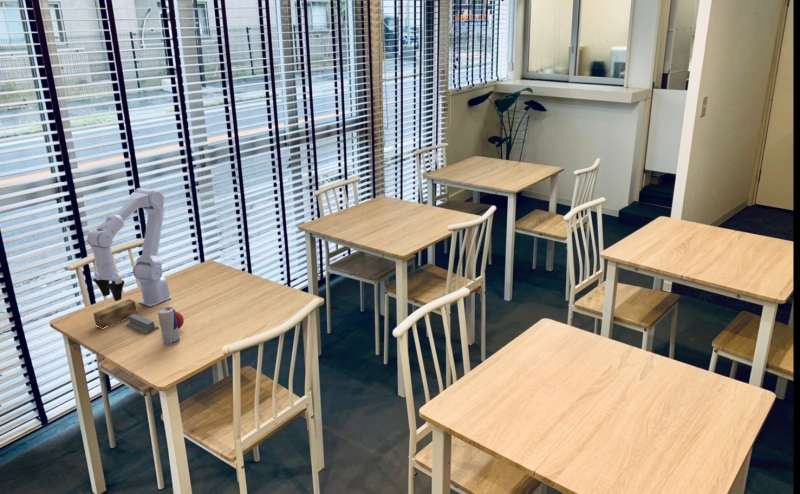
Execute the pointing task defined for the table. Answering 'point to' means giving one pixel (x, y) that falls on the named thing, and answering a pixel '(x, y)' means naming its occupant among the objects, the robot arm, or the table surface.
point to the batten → (115, 313)
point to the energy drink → (168, 326)
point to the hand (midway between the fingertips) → (112, 297)
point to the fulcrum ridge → (141, 324)
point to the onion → (179, 319)
